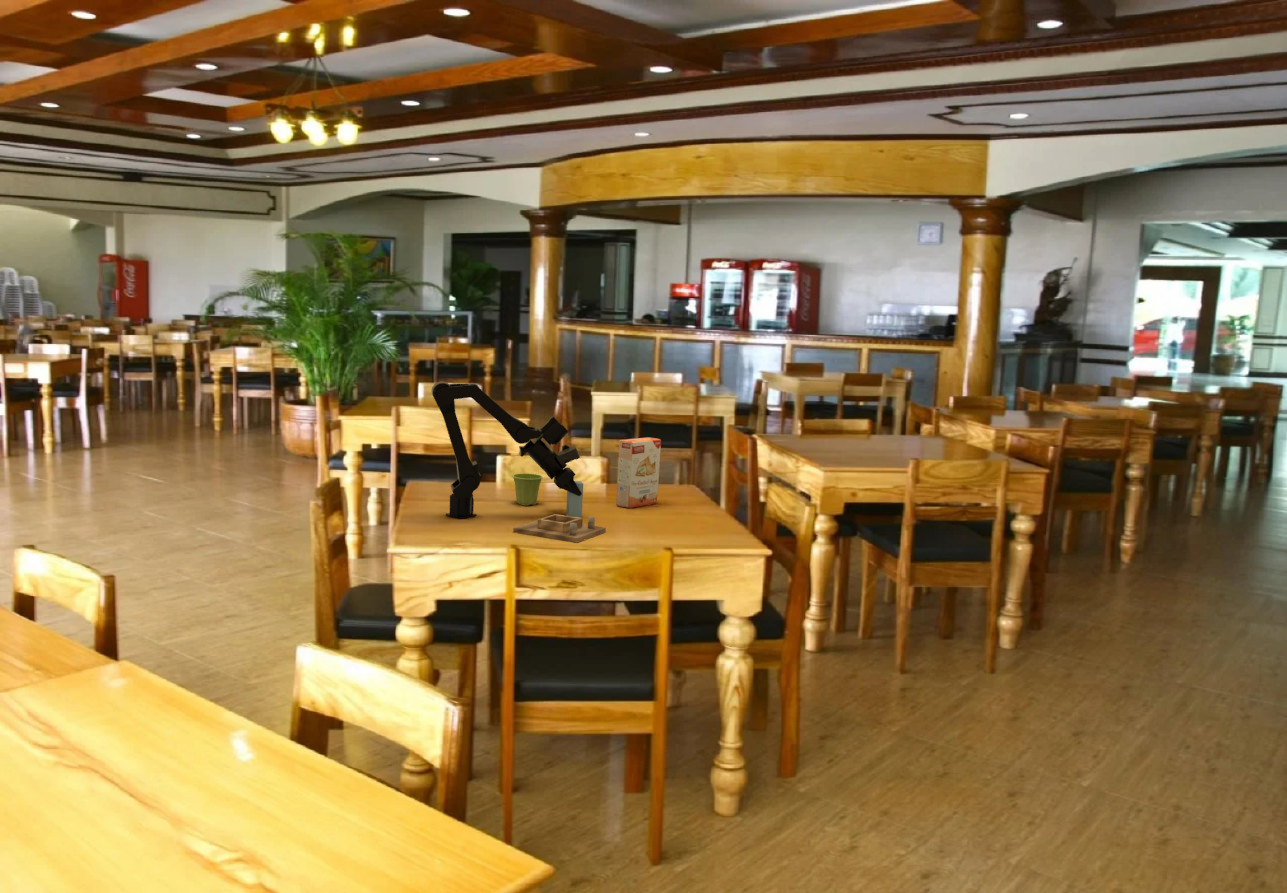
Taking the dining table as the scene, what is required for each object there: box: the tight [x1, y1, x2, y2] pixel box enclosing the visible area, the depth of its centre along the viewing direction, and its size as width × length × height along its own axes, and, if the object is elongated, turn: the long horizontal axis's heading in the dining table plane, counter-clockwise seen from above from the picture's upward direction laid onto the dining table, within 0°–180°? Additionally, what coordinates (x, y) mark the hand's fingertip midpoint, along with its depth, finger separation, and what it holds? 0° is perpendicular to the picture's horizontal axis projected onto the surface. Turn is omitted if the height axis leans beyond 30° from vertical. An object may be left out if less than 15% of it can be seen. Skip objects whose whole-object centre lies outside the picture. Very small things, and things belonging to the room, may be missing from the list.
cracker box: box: [615, 436, 662, 509], centre depth 337 cm, size 14×6×21 cm, turn 140°
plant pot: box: [512, 472, 544, 506], centre depth 332 cm, size 9×9×9 cm
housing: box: [512, 513, 607, 543], centre depth 295 cm, size 20×16×4 cm
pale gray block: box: [565, 480, 584, 518], centre depth 317 cm, size 4×4×10 cm
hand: (579, 493), depth 317 cm, fingers closed on pale gray block, 4 cm apart
